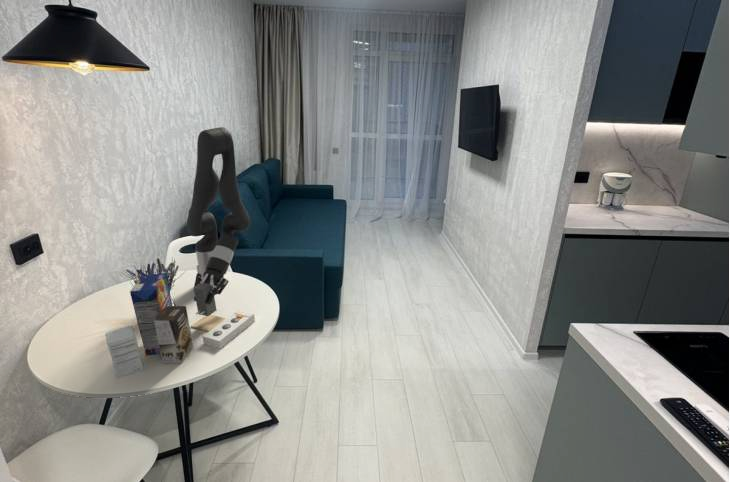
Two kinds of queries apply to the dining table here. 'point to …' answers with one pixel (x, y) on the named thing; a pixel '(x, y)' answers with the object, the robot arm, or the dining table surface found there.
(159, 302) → the cereal box
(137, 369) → the supplement box
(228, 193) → the robot arm
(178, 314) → the coffee box
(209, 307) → the block
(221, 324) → the power strip
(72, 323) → the dining table surface
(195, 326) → the coaster
